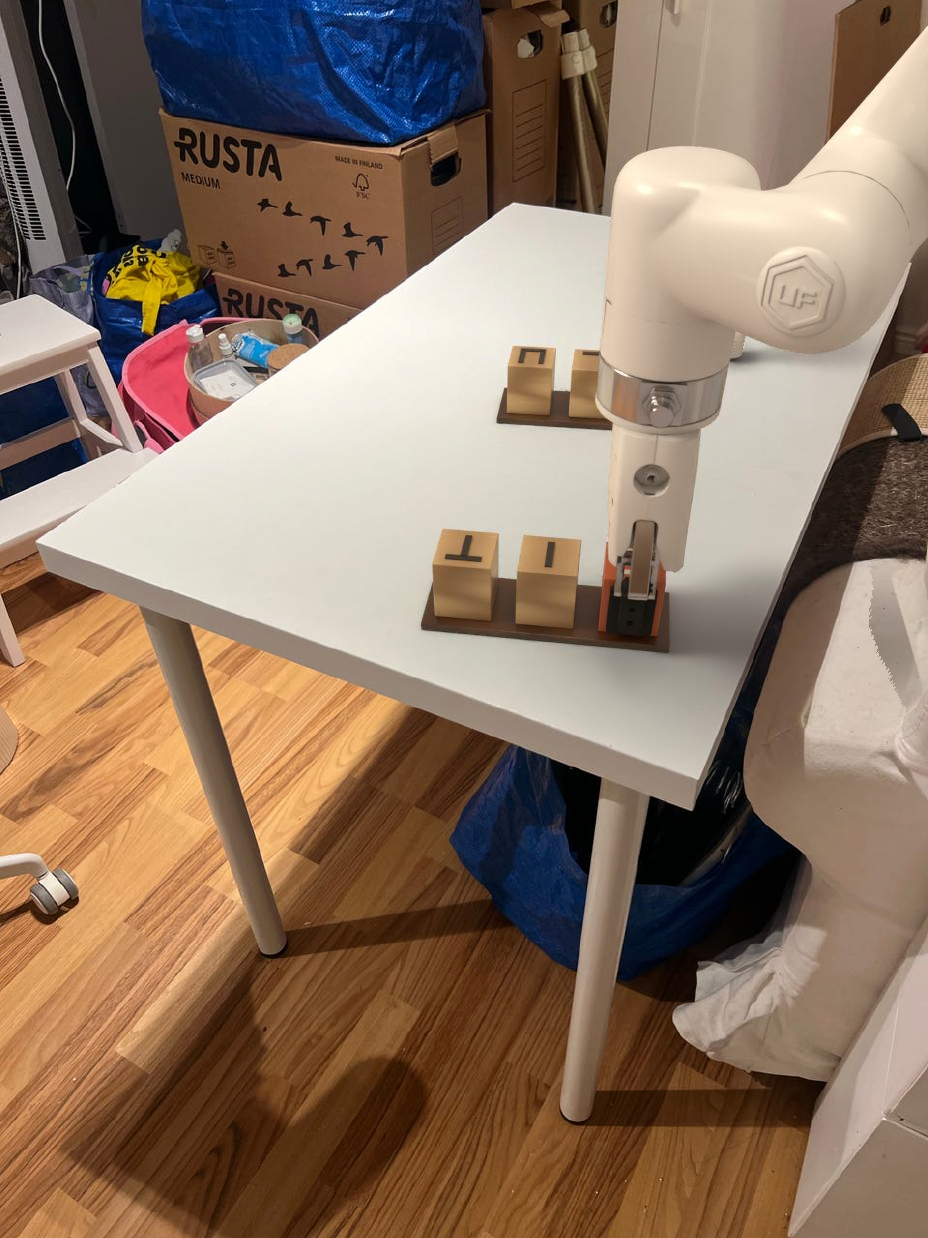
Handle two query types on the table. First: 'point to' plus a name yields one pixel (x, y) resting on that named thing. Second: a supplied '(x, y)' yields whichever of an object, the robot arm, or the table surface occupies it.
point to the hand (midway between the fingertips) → (629, 607)
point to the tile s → (610, 574)
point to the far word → (551, 391)
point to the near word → (522, 594)
